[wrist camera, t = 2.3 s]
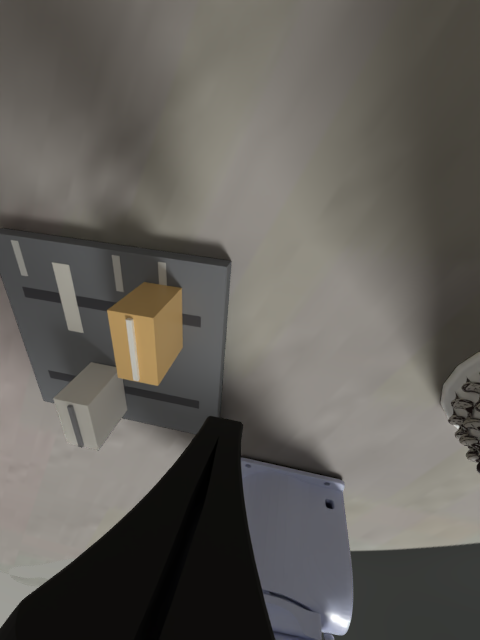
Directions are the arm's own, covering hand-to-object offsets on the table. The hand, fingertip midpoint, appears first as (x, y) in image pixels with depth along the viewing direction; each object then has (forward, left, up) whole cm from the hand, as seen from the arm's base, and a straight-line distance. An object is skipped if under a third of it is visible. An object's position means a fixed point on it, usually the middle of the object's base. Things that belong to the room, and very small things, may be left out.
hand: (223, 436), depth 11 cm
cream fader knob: (+11, +8, -8) cm, 16 cm away
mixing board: (+10, +4, -9) cm, 14 cm away
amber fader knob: (+6, 0, -8) cm, 10 cm away
